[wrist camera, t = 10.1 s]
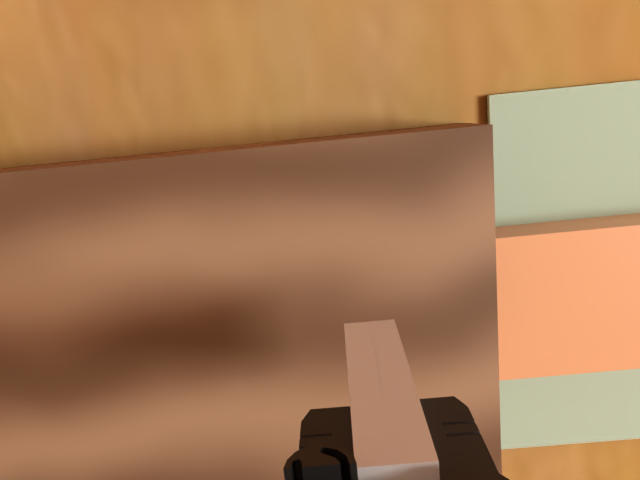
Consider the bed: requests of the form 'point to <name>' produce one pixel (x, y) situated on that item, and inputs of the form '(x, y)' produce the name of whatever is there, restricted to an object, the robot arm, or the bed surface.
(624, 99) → the mat
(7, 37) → the bed surface
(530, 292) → the orange rectangular block
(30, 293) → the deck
